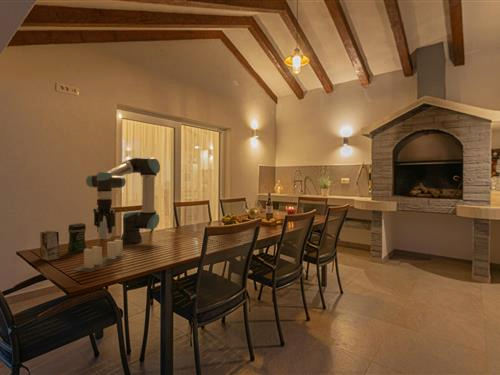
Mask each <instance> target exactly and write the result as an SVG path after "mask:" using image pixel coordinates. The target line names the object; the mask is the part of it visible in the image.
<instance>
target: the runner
mask: <svg viewBox="0 0 500 375" xmlns="http://www.w3.org/2000/svg"><path fill="white" fill-rule="evenodd" d="M129 256H130V255H129V254H128V255H127V254H123V256H121V257H120V256H116V259H107V256H104V257H102V264H101V265H95V264H94V268H85V267H84V264H83V265H80V266H77V267H75V268H72V269H71V271H77V272H78V271H79V272H86V273H91V272H94V271H95V270H99V269H101V268H103V267H106V266H108V265H110V264H113V263H115V262H119V261H120V260H122V259H125V258H127V257H129Z"/></svg>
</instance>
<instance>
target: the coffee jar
mask: <svg viewBox="0 0 500 375" xmlns="http://www.w3.org/2000/svg"><path fill="white" fill-rule="evenodd" d="M67 230H68V234H69V235H68V236H69V238H68V239H69V240H68V247H67V251H68V253H70V254H76V253H82V252H84V249H87V247H86V246H87V245H86V238H85V236H86V230H87V227H86V223H74V224H69V225H68V229H67Z"/></svg>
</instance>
